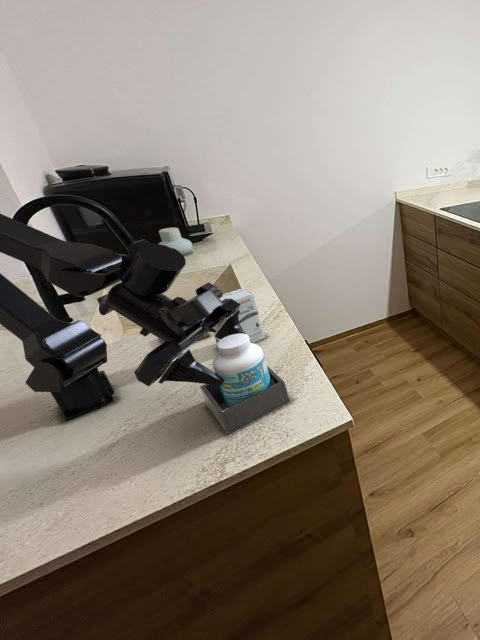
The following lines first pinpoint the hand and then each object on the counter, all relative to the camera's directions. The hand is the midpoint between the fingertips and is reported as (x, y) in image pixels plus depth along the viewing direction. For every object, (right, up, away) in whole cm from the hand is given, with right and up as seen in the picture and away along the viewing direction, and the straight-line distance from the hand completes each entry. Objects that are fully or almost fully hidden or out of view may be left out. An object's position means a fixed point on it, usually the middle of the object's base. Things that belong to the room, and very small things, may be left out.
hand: (239, 365), depth 65 cm
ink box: (-13, 0, +22) cm, 26 cm away
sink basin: (0, -8, +3) cm, 8 cm away
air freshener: (-74, +24, +79) cm, 111 cm away
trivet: (-28, +1, +24) cm, 37 cm away
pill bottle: (0, -8, +3) cm, 9 cm away
